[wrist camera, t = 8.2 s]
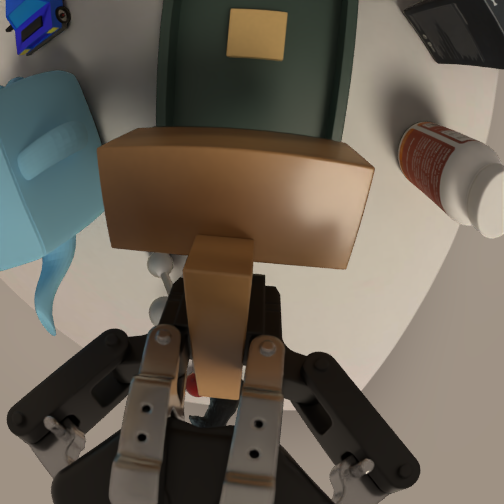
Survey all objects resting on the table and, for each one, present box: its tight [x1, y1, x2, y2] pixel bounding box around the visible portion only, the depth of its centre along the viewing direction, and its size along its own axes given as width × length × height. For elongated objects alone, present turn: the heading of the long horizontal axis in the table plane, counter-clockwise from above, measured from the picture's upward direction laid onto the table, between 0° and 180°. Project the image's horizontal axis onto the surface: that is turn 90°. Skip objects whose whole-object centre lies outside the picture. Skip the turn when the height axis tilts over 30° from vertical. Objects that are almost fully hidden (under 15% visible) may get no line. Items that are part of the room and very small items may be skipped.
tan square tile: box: [226, 9, 288, 61], centre depth 15 cm, size 4×4×1 cm
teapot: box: [0, 70, 104, 336], centre depth 16 cm, size 18×16×14 cm
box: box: [403, 0, 504, 69], centre depth 9 cm, size 8×6×11 cm
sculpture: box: [189, 379, 243, 428], centre depth 35 cm, size 8×11×15 cm
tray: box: [156, 0, 358, 142], centre depth 15 cm, size 14×24×3 cm, turn 175°
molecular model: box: [147, 252, 202, 397], centre depth 26 cm, size 8×12×11 cm
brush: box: [97, 126, 375, 400], centre depth 12 cm, size 11×9×7 cm
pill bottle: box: [398, 122, 504, 238], centre depth 16 cm, size 6×6×11 cm
